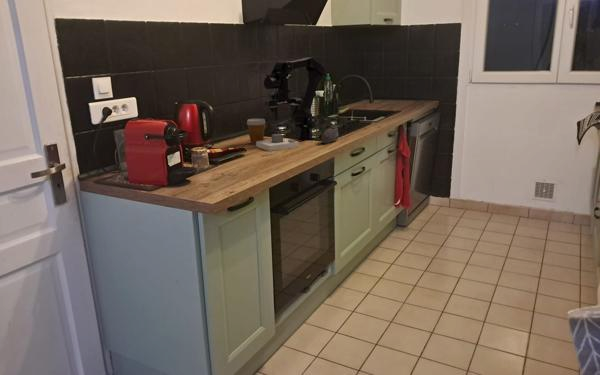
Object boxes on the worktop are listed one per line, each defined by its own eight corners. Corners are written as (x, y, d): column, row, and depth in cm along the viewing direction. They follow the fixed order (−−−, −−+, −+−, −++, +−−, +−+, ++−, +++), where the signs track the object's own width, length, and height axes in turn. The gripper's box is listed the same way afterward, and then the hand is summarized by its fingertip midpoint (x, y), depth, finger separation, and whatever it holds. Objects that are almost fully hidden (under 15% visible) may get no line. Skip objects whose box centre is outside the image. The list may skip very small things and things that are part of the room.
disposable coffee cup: (269, 141, 252) (268, 118, 249) (262, 145, 243) (261, 121, 240) (251, 141, 255) (250, 118, 251) (244, 144, 246) (243, 121, 243)
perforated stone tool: (326, 145, 241) (326, 131, 239) (317, 144, 244) (317, 130, 242) (341, 140, 253) (341, 126, 251) (332, 139, 256) (332, 126, 254)
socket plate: (284, 142, 249) (284, 136, 248) (298, 147, 238) (298, 140, 237) (256, 146, 241) (256, 139, 240) (270, 151, 230) (269, 144, 229)
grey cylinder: (279, 145, 242) (278, 133, 241) (283, 147, 239) (282, 134, 237) (272, 146, 240) (271, 134, 239) (276, 148, 237) (275, 135, 235)
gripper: (291, 85, 251) (291, 116, 255) (258, 88, 241) (259, 119, 246) (302, 87, 242) (303, 118, 246) (269, 89, 232) (270, 122, 237)
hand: (284, 119), depth 244 cm, fingers open, 9 cm apart
